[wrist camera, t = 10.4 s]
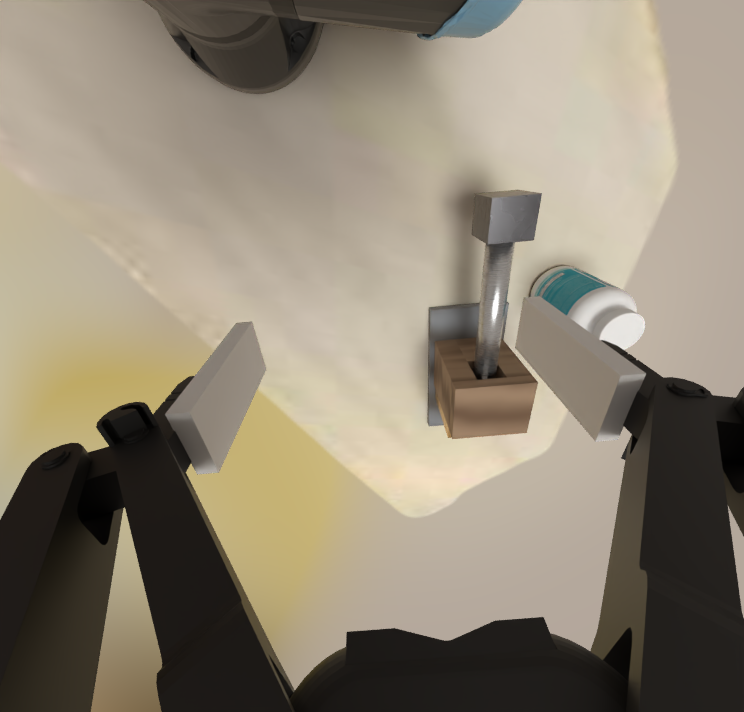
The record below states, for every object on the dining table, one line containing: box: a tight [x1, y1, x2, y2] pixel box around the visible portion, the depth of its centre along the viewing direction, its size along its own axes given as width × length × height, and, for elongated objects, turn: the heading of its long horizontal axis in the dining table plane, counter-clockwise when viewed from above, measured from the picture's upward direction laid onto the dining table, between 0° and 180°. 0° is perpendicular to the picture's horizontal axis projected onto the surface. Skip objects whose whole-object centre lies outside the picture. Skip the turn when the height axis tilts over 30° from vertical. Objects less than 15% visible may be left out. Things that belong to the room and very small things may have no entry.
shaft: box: [472, 190, 542, 380], centre depth 37 cm, size 23×4×5 cm, turn 5°
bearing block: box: [428, 301, 538, 439], centre depth 46 cm, size 22×11×13 cm, turn 5°
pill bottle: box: [530, 266, 645, 350], centre depth 40 cm, size 8×7×14 cm
